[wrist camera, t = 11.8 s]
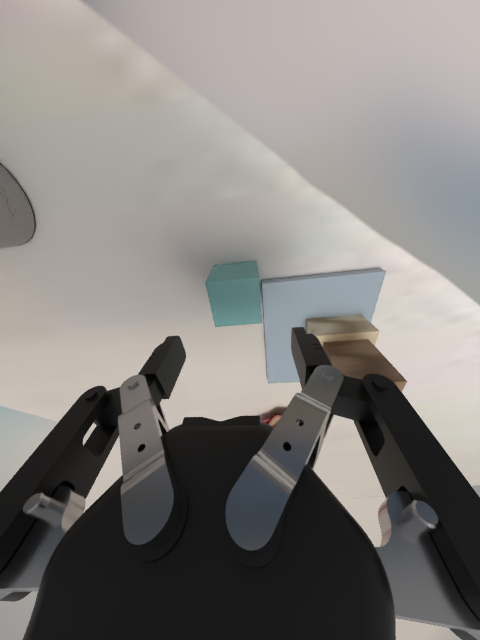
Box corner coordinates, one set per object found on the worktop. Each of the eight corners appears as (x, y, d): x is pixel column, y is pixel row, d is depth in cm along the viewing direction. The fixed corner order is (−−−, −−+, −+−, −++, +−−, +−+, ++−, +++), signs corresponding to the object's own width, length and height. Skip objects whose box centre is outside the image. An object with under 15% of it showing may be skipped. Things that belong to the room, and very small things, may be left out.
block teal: (221, 302, 25) (215, 326, 20) (214, 265, 22) (205, 282, 17) (258, 298, 24) (262, 323, 19) (255, 260, 22) (258, 277, 17)
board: (267, 377, 32) (268, 383, 31) (261, 280, 23) (262, 283, 22) (349, 373, 31) (353, 378, 30) (379, 268, 22) (386, 271, 21)
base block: (302, 357, 28) (310, 377, 25) (305, 318, 24) (315, 336, 21) (350, 354, 27) (364, 374, 24) (361, 314, 24) (379, 331, 20)
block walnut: (318, 371, 24) (338, 416, 19) (323, 342, 21) (347, 384, 16) (358, 369, 24) (389, 414, 19) (368, 339, 21) (407, 381, 16)
